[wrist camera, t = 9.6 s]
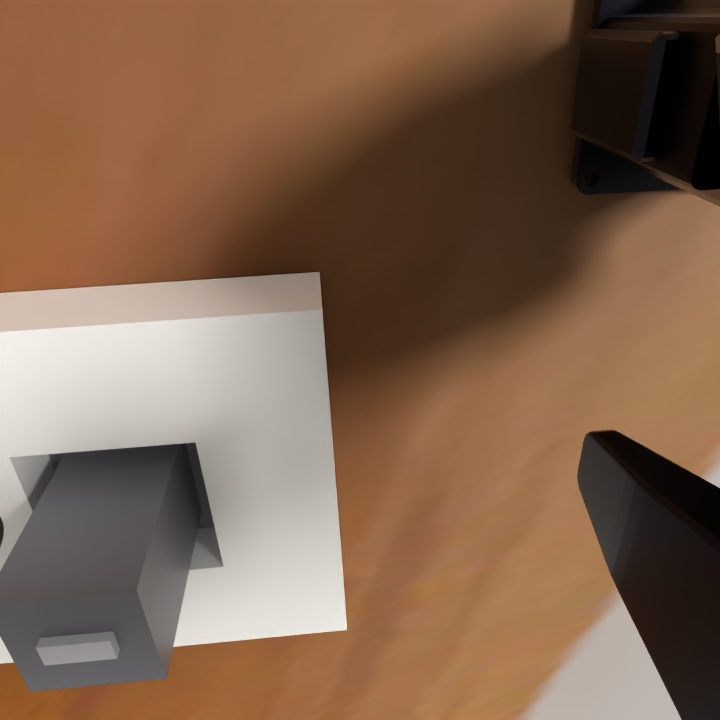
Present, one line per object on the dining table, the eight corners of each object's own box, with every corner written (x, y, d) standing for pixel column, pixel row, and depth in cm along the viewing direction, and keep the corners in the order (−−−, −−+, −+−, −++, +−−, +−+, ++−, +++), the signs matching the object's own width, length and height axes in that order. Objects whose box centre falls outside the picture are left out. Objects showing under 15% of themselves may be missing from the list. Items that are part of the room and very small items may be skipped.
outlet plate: (319, 271, 20) (321, 309, 17) (343, 572, 28) (347, 629, 25) (-139, 302, 19) (-208, 346, 17) (14, 602, 27) (-17, 665, 24)
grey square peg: (182, 431, 22) (133, 599, 16) (201, 510, 24) (164, 688, 18) (72, 439, 22) (-24, 613, 15) (100, 519, 24) (26, 701, 17)
